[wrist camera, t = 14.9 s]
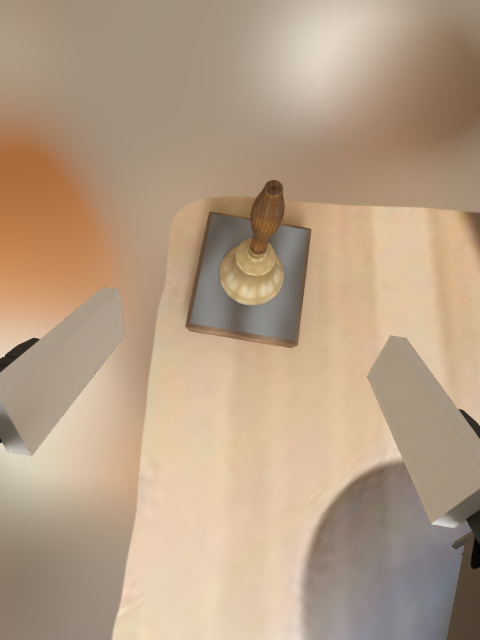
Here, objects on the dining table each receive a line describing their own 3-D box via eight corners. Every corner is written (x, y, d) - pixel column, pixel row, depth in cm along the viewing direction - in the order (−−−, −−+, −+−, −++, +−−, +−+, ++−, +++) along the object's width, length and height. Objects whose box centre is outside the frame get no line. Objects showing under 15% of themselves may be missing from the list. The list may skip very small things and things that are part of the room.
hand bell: (258, 233, 35) (281, 118, 19) (296, 282, 34) (354, 202, 18) (206, 266, 34) (185, 173, 18) (244, 318, 32) (256, 267, 17)
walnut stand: (304, 241, 39) (312, 227, 35) (290, 348, 36) (298, 344, 32) (211, 226, 39) (209, 209, 35) (189, 331, 36) (184, 326, 32)
